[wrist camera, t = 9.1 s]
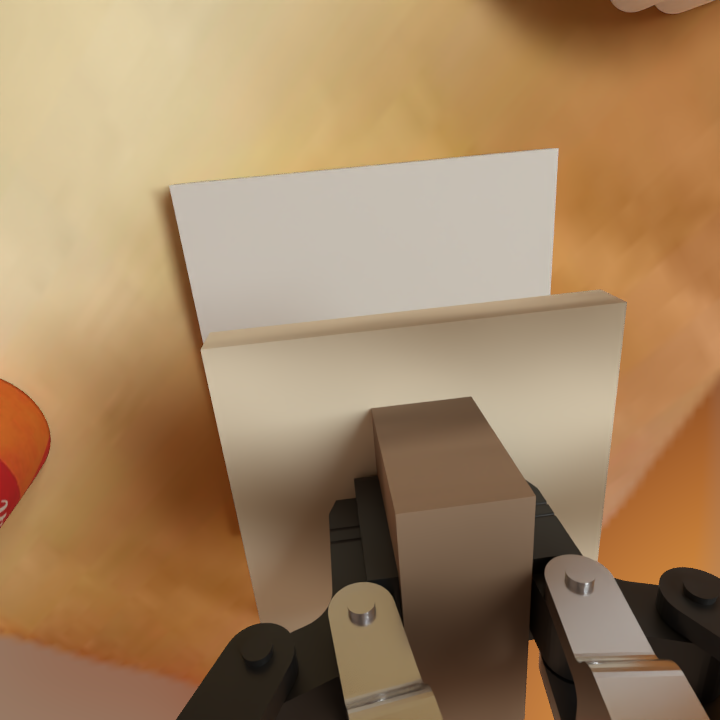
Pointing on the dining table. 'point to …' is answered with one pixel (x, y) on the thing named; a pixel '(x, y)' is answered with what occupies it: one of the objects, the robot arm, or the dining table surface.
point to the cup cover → (424, 465)
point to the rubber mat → (368, 239)
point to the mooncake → (658, 5)
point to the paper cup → (19, 445)
